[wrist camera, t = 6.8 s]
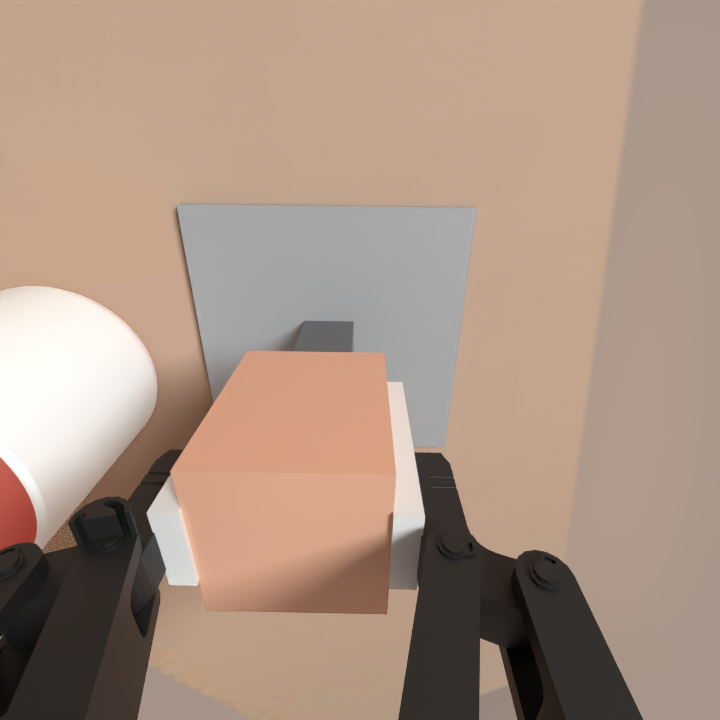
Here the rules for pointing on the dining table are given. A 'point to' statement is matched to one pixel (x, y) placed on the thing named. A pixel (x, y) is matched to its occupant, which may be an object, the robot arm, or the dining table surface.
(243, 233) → the grey square plate
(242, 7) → the dining table surface
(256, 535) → the peach toy cube
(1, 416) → the cup
